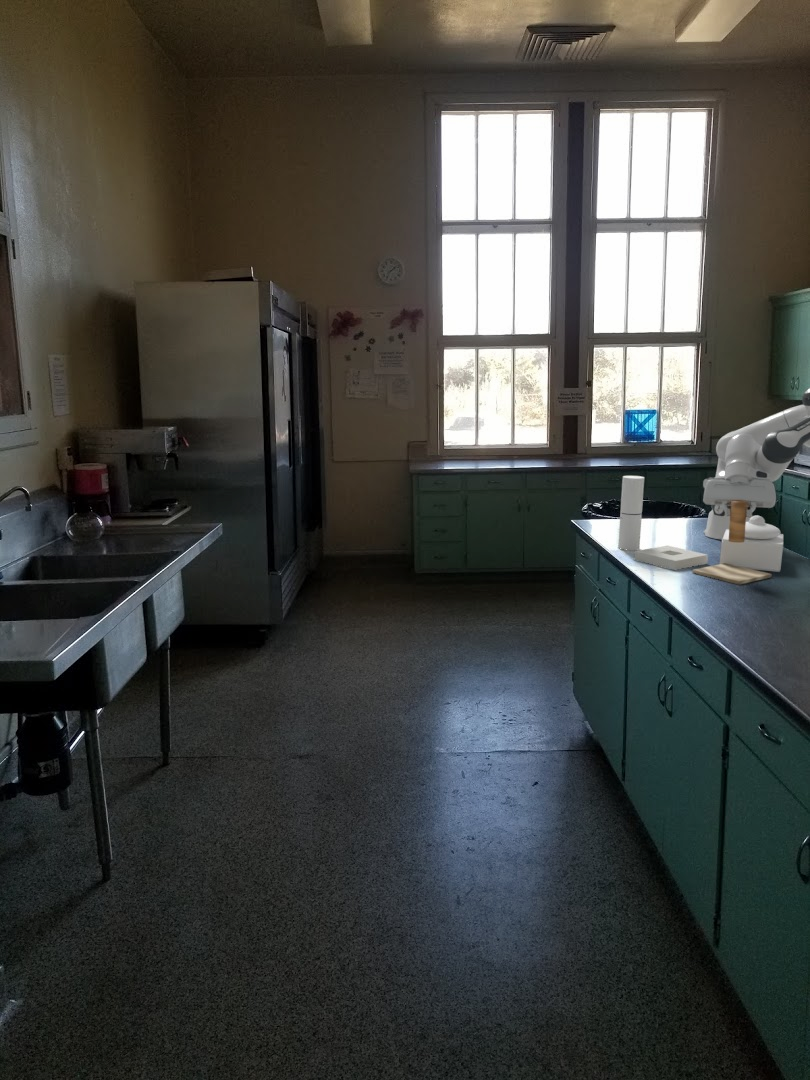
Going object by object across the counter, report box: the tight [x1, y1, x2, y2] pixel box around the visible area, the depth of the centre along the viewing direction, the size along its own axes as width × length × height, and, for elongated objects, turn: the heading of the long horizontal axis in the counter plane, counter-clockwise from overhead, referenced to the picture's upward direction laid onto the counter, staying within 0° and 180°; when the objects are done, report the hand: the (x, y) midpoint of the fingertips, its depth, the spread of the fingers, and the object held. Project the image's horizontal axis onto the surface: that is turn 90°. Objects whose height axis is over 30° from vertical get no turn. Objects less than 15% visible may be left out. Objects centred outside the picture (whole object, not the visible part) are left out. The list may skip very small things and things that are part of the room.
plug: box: [729, 501, 747, 543], centre depth 237 cm, size 4×4×12 cm
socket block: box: [634, 545, 709, 571], centre depth 256 cm, size 16×16×3 cm
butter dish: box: [719, 514, 784, 573], centre depth 255 cm, size 18×18×16 cm
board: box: [692, 563, 772, 585], centre depth 240 cm, size 16×16×1 cm
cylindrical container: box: [617, 475, 645, 551], centre depth 273 cm, size 7×7×25 cm
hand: (738, 515), depth 236 cm, fingers closed on plug, 4 cm apart
